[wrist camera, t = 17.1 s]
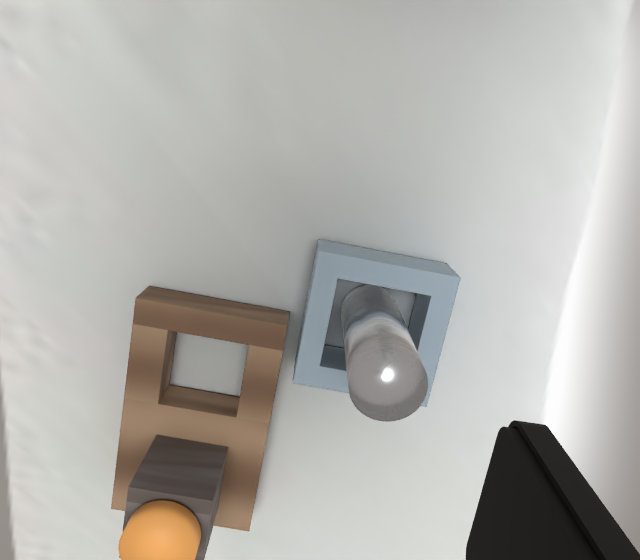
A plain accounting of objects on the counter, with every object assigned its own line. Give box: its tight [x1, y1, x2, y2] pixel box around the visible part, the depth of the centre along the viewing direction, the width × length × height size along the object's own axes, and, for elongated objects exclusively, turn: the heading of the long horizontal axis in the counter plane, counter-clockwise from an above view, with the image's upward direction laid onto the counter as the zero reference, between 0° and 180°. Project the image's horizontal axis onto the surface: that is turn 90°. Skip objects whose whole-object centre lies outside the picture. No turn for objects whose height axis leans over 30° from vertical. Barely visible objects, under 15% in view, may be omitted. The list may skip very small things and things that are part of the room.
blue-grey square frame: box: [293, 239, 460, 407], centre depth 38 cm, size 9×9×4 cm
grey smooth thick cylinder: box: [341, 285, 428, 421], centre depth 34 cm, size 4×4×12 cm
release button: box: [119, 500, 201, 560], centre depth 36 cm, size 4×4×8 cm
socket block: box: [111, 286, 290, 560], centre depth 37 cm, size 16×10×9 cm, turn 169°
